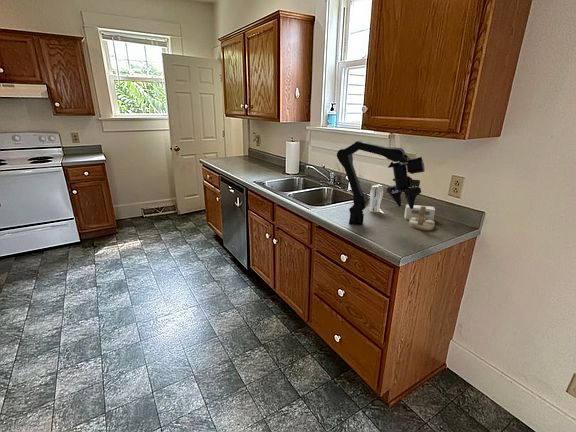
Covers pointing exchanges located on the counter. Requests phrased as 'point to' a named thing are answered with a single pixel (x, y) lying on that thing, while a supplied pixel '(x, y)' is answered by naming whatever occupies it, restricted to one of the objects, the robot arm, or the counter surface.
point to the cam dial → (421, 221)
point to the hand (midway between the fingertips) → (405, 207)
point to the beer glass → (375, 197)
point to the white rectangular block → (416, 210)
